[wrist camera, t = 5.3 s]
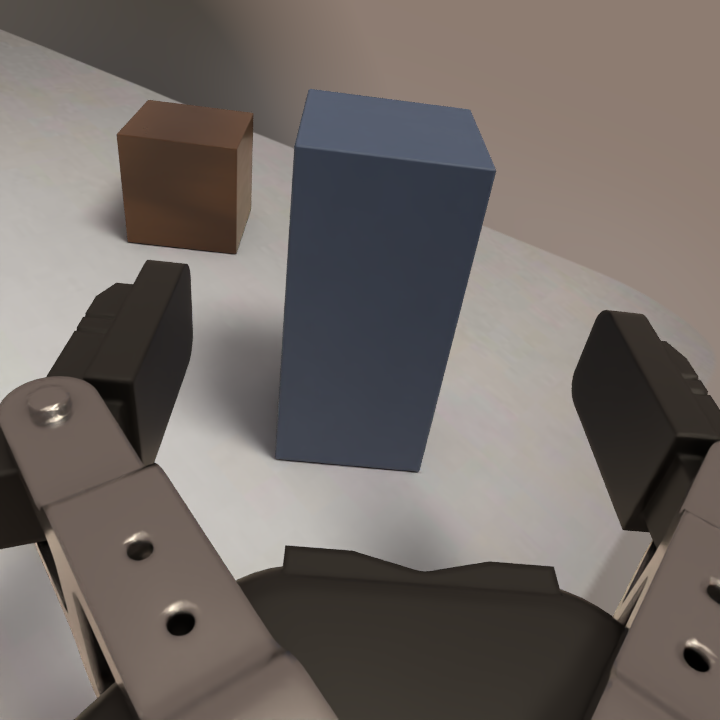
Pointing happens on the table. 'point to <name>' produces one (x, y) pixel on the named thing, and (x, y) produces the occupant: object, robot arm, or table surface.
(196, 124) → the block
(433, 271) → the tall block
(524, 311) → the table surface
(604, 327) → the robot arm
